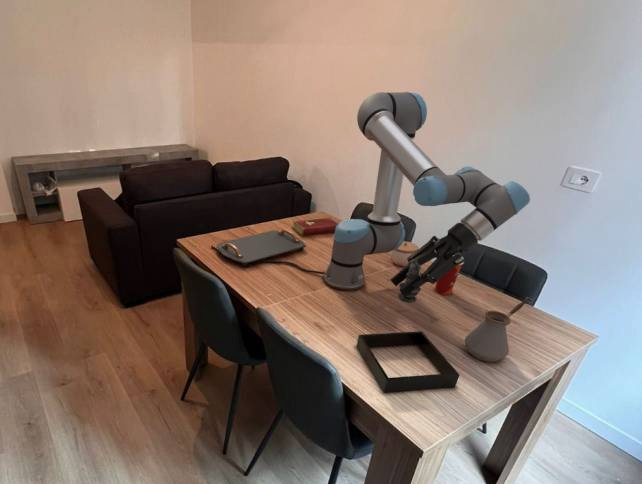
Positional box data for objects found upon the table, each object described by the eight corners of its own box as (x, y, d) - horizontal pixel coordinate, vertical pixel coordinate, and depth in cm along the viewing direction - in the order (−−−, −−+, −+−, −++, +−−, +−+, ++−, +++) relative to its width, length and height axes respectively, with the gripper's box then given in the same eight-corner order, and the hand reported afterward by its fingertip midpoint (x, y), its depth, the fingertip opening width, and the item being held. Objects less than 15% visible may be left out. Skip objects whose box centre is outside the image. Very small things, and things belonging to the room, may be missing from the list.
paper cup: (456, 297, 147) (467, 262, 140) (433, 294, 149) (444, 260, 142) (451, 287, 154) (462, 253, 147) (430, 285, 155) (439, 251, 148)
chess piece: (417, 295, 118) (428, 257, 112) (417, 305, 114) (428, 266, 107) (396, 291, 120) (405, 254, 114) (395, 301, 115) (405, 262, 109)
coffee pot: (490, 371, 112) (509, 325, 104) (453, 348, 120) (468, 305, 113) (531, 348, 122) (552, 305, 114) (495, 329, 130) (511, 288, 123)
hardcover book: (340, 232, 201) (342, 224, 199) (302, 236, 195) (302, 228, 193) (329, 224, 211) (330, 216, 209) (292, 228, 205) (292, 220, 203)
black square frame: (383, 393, 103) (386, 380, 101) (356, 347, 120) (358, 334, 118) (454, 387, 106) (459, 374, 104) (418, 343, 123) (421, 330, 120)
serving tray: (278, 234, 197) (279, 221, 194) (311, 250, 181) (313, 237, 178) (210, 251, 178) (209, 237, 174) (239, 271, 162) (240, 256, 158)
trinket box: (384, 257, 176) (388, 237, 172) (407, 257, 177) (412, 237, 172) (393, 268, 167) (398, 247, 162) (418, 268, 168) (424, 247, 163)
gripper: (496, 255, 102) (419, 313, 108) (456, 228, 117) (390, 280, 124) (484, 235, 99) (405, 296, 105) (444, 211, 114) (377, 265, 121)
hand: (397, 287), depth 114 cm, fingers closed on chess piece, 5 cm apart
